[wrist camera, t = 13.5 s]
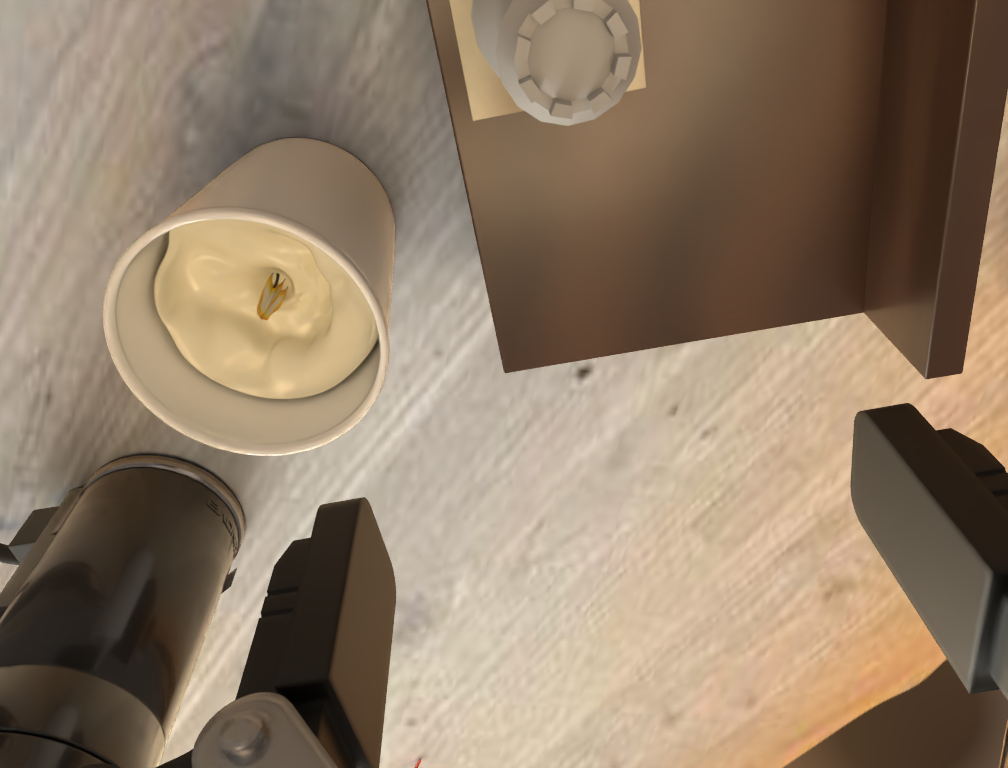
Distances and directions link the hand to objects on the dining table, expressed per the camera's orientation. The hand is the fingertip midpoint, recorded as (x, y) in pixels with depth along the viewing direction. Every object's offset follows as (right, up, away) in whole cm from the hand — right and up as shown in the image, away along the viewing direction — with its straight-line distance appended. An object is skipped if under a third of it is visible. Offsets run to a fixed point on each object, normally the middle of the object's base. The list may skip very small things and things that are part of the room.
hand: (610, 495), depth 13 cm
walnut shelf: (+4, +16, +21) cm, 27 cm away
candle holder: (-11, +10, +25) cm, 29 cm away
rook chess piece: (-1, +13, +11) cm, 17 cm away
